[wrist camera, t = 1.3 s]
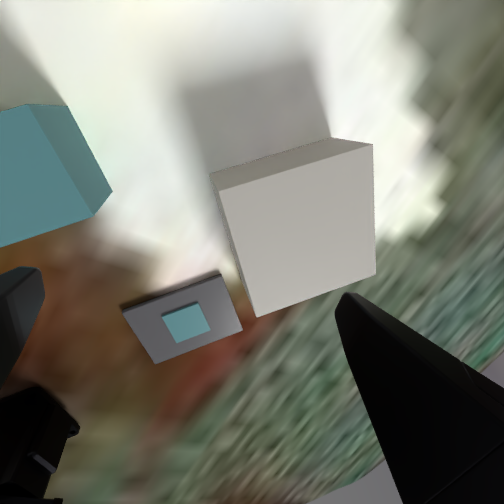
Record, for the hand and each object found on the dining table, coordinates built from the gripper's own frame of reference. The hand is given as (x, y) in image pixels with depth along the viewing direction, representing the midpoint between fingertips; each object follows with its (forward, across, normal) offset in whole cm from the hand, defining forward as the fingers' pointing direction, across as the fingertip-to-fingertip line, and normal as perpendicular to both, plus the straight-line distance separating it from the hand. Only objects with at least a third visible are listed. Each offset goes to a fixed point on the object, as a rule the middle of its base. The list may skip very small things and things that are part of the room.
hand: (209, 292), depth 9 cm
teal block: (+12, +9, +1) cm, 15 cm away
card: (+11, 0, +12) cm, 16 cm away
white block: (+13, -6, +2) cm, 14 cm away
